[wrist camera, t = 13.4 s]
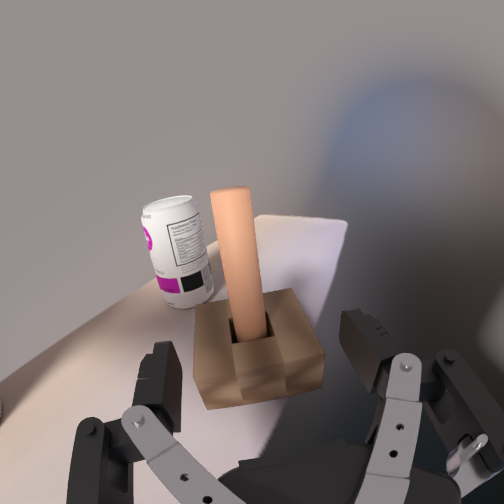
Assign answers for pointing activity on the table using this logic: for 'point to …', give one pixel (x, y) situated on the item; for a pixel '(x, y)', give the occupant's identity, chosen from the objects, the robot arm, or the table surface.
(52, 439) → the table surface
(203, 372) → the socket block
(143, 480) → the table surface
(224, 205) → the peg
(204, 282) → the supplement can
